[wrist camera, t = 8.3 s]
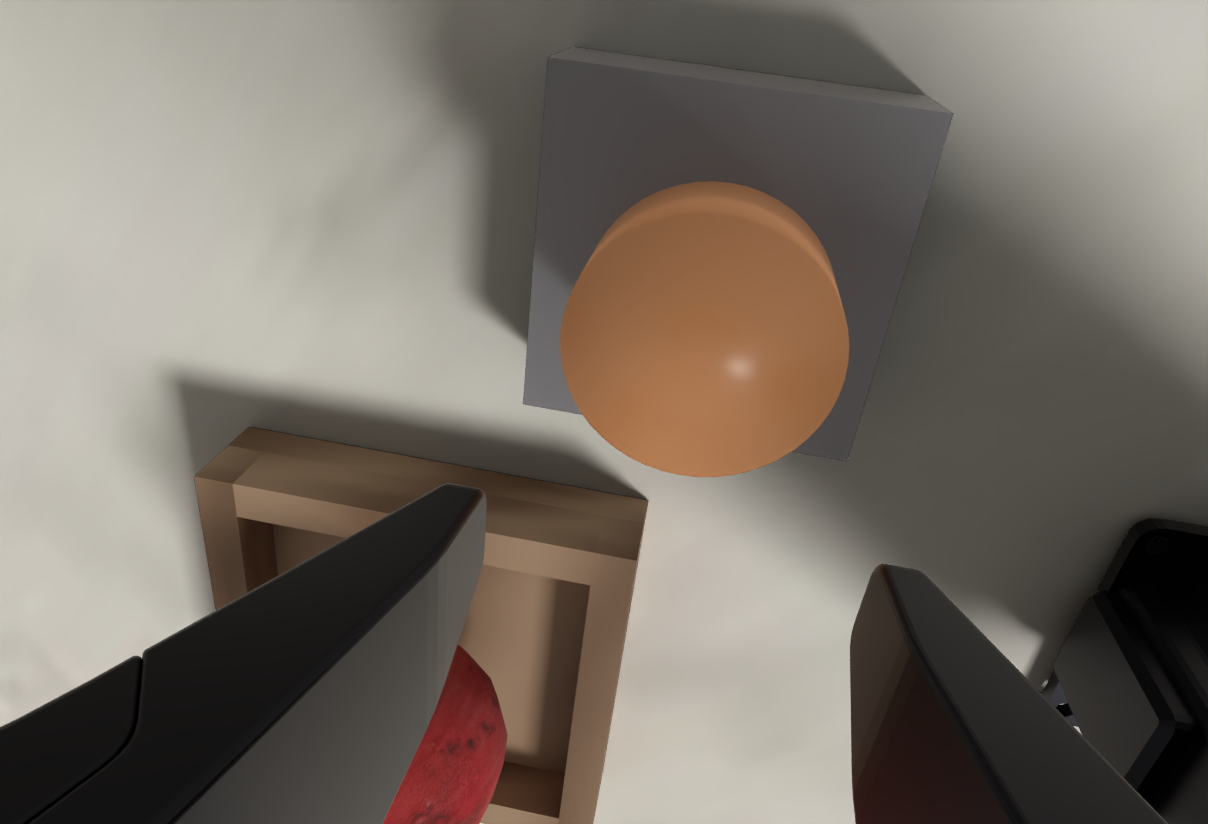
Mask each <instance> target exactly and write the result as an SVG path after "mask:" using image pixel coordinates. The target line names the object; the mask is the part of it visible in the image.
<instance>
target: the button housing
mask: <svg viewBox="0 0 1208 824" xmlns="http://www.w3.org/2000/svg"><path fill="white" fill-rule="evenodd" d="M952 116H953V113H952V112H950V111H949V110H947V109H946V108H944V107H943V106H942V105H940V104H939V103H937V102H936V101H934V100H933V99H931V98H930V97H929V96H926V95H919V94H911V93H904V92H897V91H890V90H882V89H875V88H868V87H861V86H853V85H846V84H839V83H831V82H824V81H817V80H810V79H802V78H795V77H788V76H781V75H773V74H766V73H759V72H752V71H744V70H737V69H730V68H723V67H715V66H708V65H701V64H694V63H686V62H679V61H672V60H665V59H657V58H650V57H643V56H636V55H628V54H621V53H614V52H607V51H599V50H592V49H585V48H578V47H571V48H569V49H566V50H564V51H561V52H559V53H556V54H554V55H552V56H549V57H548V61H547V75H546V89H545V103H544V117H543V131H542V145H541V159H540V173H539V187H538V201H537V215H536V229H535V243H534V257H533V271H532V285H531V299H530V313H529V327H528V341H527V355H526V369H525V383H524V397H523V404H525V405H530V406H536V407H542V408H547V409H553V410H559V411H564V412H570V413H576V414H581V415H583V414H582V413H581V412H580V410H579V408H578V406H577V405H576V403H575V401H574V399H573V397H572V395H571V393H570V390H569V388H568V385H567V383H566V380H565V376H564V372H563V368H562V362H561V354H560V331H561V325H562V319H563V314H564V311H565V308H566V305H567V301H568V298H569V296H570V294H571V292H572V290H573V288H574V286H575V284H576V282H577V280H578V278H579V277H580V275H581V273H582V271H583V270H584V268H585V266H586V264H587V262H588V261H589V259H590V257H591V255H592V254H593V252H594V250H595V248H596V246H597V245H598V243H599V242H600V240H601V239H602V237H603V236H604V234H605V233H606V231H607V230H608V229H609V228H610V227H611V225H612V224H613V223H614V222H615V221H616V220H617V219H618V218H619V217H620V216H621V215H622V214H623V213H625V212H626V211H627V210H628V209H629V208H630V207H632V206H633V205H635V204H636V203H638V202H639V201H641V200H643V199H644V198H646V197H648V196H650V195H652V194H654V193H656V192H659V191H661V190H664V189H667V188H670V187H673V186H676V185H681V184H687V183H692V182H707V181H715V182H727V183H734V184H738V185H743V186H747V187H750V188H753V189H756V190H758V191H761V192H764V193H766V194H768V195H770V196H772V197H773V198H775V199H777V200H779V201H781V202H782V203H784V204H785V205H786V206H788V207H789V208H790V209H792V210H793V211H794V212H796V213H797V214H798V215H799V216H800V217H801V218H802V219H803V220H804V221H805V222H806V223H807V224H808V225H809V227H810V228H811V229H812V231H813V232H814V233H815V234H816V236H817V237H818V239H819V241H820V242H821V244H822V246H823V247H824V249H825V251H826V253H827V256H828V258H829V261H830V263H831V266H832V269H833V273H834V277H835V280H836V284H837V287H838V291H839V295H840V298H841V302H842V306H843V309H844V313H845V318H846V322H847V326H848V335H849V359H848V367H847V371H846V376H845V381H844V383H843V386H842V389H841V391H840V394H839V397H838V399H837V400H836V402H835V404H834V406H833V408H832V410H831V412H830V413H829V414H828V416H827V417H826V419H825V420H824V421H823V423H822V424H821V425H820V427H819V428H818V429H817V430H816V431H815V432H814V433H813V434H812V435H811V436H810V437H809V438H808V439H807V440H806V441H804V442H803V443H802V444H801V445H800V446H798V447H797V448H796V449H795V450H793V451H791V452H796V453H802V454H808V455H813V456H819V457H825V458H830V459H836V460H842V461H847V459H848V456H849V453H850V449H851V446H852V443H853V440H854V436H855V433H856V430H857V427H858V423H859V420H860V417H861V413H862V410H863V407H864V404H865V400H866V397H867V394H868V391H869V387H870V384H871V381H872V378H873V374H874V371H875V368H876V364H877V361H878V358H879V355H880V351H881V348H882V345H883V342H884V338H885V335H886V332H887V329H888V325H889V322H890V319H891V315H892V312H893V309H894V306H895V302H896V299H897V296H898V293H899V289H900V286H901V283H902V279H903V276H904V273H905V270H906V266H907V263H908V260H909V257H910V253H911V250H912V247H913V244H914V240H915V237H916V234H917V230H918V227H919V224H920V221H921V217H922V214H923V211H924V208H925V204H926V201H927V198H928V195H929V191H930V188H931V185H932V181H933V178H934V175H935V172H936V168H937V165H938V162H939V159H940V155H941V152H942V149H943V146H944V142H945V139H946V136H947V132H948V129H949V126H950V123H951V119H952Z"/></svg>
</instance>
